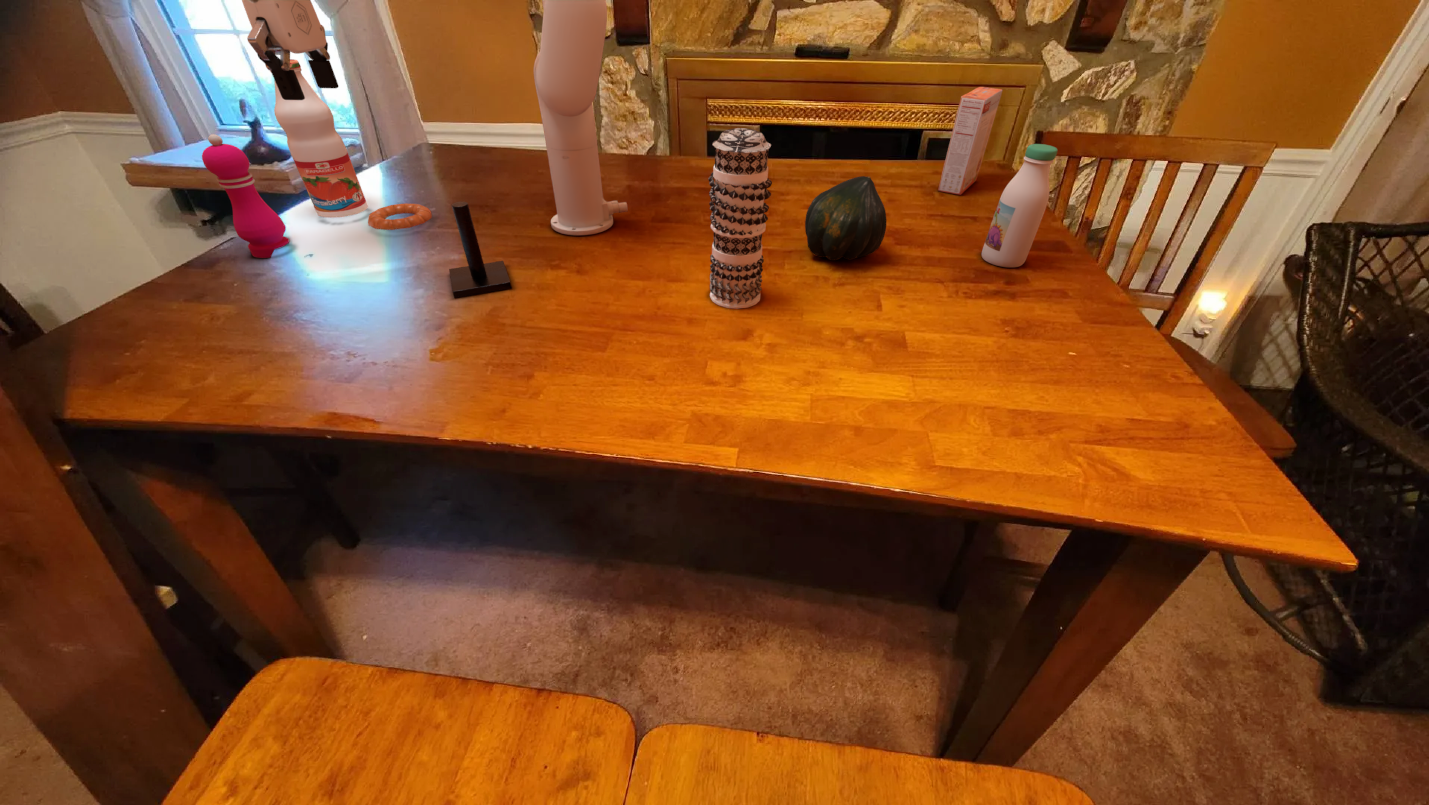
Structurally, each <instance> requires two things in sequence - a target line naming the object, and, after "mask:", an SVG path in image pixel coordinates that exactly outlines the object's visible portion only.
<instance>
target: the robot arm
mask: <svg viewBox="0 0 1429 805" xmlns="http://www.w3.org/2000/svg"><path fill="white" fill-rule="evenodd" d="M241 2H242V5H243V7H244V11H245V13H246V16H247V18H248V21H249V24H250V26H251V30H250V31H249V33H248V35H247V37H246V38H247V43H248V44H249V45H250V46H251V48H252V49H253V50H254V51H255V53H256V54H257V57H258V58H259V60H260V61H261V62H263V63H264V64H265V68H266V69H267V70H268V71H270V70H271V72H270V73H271V75H272V77H273V81H274V80H275V82H276V84H277V87H278V89H279V92H280V94H281V96H282V98H283V99H284V100H304V99H305V96H304V94H303V91H302V89H301V86H300V84H299V81H298V79H297V76H296V74H295V71H294V70H290V59H291V53H292V54H295V55H296V54H297V55H298V54H304V53H305V54H306V55H307V57H308V58H309V59H308V60H307V61H308V64H309V67H310V69H311V72H312V74H313V76H314V80H315V82H316V85H317V87H318V88H319V89H338V88H339V83H338V80H337V78H336V75H335V72H334V70H333V67H332V64H331V55H330V53H329V51H328V50H329V48H328V47H329V43H328V42H327V37H326V29H325V27H324V25H322V24H321V22H320V20H319V17H318V15H317V11H316V10H315V7H314V5H313V3H312V0H241ZM541 3H542V9H543V14H542V25H541V37H540V47H539V52H538V53H537V55H536V57H535V60H534V64H533V79H534V85H535V90H536V91H535V92H536V95H537V101H538V105H539V106H538V107H539V111H540V116H541V123H542V129H543V135H544V142H545V147H546V148H545V149H546V154H547V159H548V165H549V172H550V178H551V185H552V191H553V196H554V203H555V208H556V214H555V215H553V217H552V218H551V219H550V225H551V226H550V227H551V229H553V230H554V231H555V232H557V233H559V234H561V235H568V236H589V235H595V234H599V233H602V232H605V231H607V230H608V229H610V228H612V226H613V225H614V217H613V215H614V214H615V213H618V214H619V213H620V214H621V213H627V212H628V211H629V210H628V204H627V201H623V202H618V200H611V201H607V200H605V198H604V192H603V183H602V176H601V167H600V166H601V165H600V156H599V148H598V137H597V128H596V121H595V114H594V113H595V112H594V107H593V106H594V105H593V103H594V100H595V98H596V95H597V91H598V90H597V89H598V85H599V78H600V72H601V66H602V60H603V54H604V47H605V40H606V34H607V24H608V5H607V1H606V0H541ZM279 56H280V57H279ZM275 82H274V83H275Z"/></svg>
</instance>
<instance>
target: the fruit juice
mask: <svg viewBox="0 0 1429 805" xmlns="http://www.w3.org/2000/svg"><path fill="white" fill-rule="evenodd" d="M290 70H294V71H295V74H296V76H297V79H298V81H299V84H300V86H301V89H302V91H303V94H304V96H305V99H304V100H284V99H283V98H282V96H281V94H280V92H279V89H278V87H277V84H276V82H275V80H274V79H273V81H274V94H275V104H274V109H273V110H274V111H273V112H274V116H275V120H276V122H277V123H278V124H279V126H280V128H281V129H282V130H283V132H284V133H285V135H286V142H287V147H288V150H289V153H290V155H291V158H292V160H293V162H294V164H295V167H296V169H297V172H298V173H299V176H300V178H301V181H302V182H303V185H304V187H305V189H306V192H307V194H308V196H309V198H310V201H311V203H312V205H313V208H314V210H315V213H316V214H317V216H319V217H322V218H328V219H331V218H332V219H334V218H336V219H337V218H345V217H350V216H354V215H357V214H360V213H362V212H364V211H366V210H367V209H368V208H369V205H368V202H367V200H366V197H365V194H364V192H363V189H362V186H361V183H360V181H359V179H358V176H357V172H356V171H355V168H354V165H353V163H352V161H351V157H350V155H349V152H348V149H347V147H346V144H345V142H344V140H343V138H342V136H341V135H340V134H339V133H338V132H337V130H336V127H335V119H334V115H333V113H332V110H331V108H330V107H329V106H328V105H327V103H326V102H324V101H323V100H322V99H321V97H319V95H318V94H317V93H316V91H315V90H314V89H313V88H312V86H311V85H310V84H309V82H308V81H307V80H306V78H305V77H304V75H303V74H302V66H301V64H300V62H299V61H298V59H292V58H290ZM269 72H270V73H271V70H269Z"/></svg>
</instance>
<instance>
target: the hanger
mask: <svg viewBox="0 0 1429 805" xmlns="http://www.w3.org/2000/svg"><path fill="white" fill-rule="evenodd" d="M451 209H452V213H453V215H454V219H455V223H456V226H457V227H456V228H457V230H458V234H459V237H460V241H461V245H462V247H463V251H464V255H465V259H466V262H467V266H465V265H464V266H460V267H459V266H458V267H453V268H449V269H448V270H449V271H448V272H449V279H450V285H451V290H452V295H453V298H454V299H458V298H464V297H469V296H475V295H482V294H488V293H492V292H499V291H505V290H510V289H512V283H511V279H510V277H509V274H508V271H507V268H506V265H505V262H504V260H499V261H491V262H485V263H484V260H483V256H482V252H481V247H480V244H479V240H478V237H477V233H476V230H475V225H474V222H473V221H474V220H473V218H472V214H471V211H470V206H469V203H468V202H467V201H456V202H453V203H452V204H451Z"/></svg>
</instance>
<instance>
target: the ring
mask: <svg viewBox="0 0 1429 805" xmlns="http://www.w3.org/2000/svg"><path fill="white" fill-rule="evenodd" d="M402 214H409V216H406V217H402V218H394V219H391V218H389V217H392V216H396V215H402ZM410 214H411V215H410ZM432 218H433V215H432V211H431V210H430V208H428V207H427V206H424V205H422V204H419V203H395V204H390V205H386V206H383V207H380V208H378V209H375V210H374V211H372V212H371V213H370V214H369V215H368V219H367V225H368V226H369V227H370V228H373V229H375V230H383V231H396V230H403V229H410V228H414V227H416V226H419V225H423V224H426V223H427V222H429V220H431V219H432Z"/></svg>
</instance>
